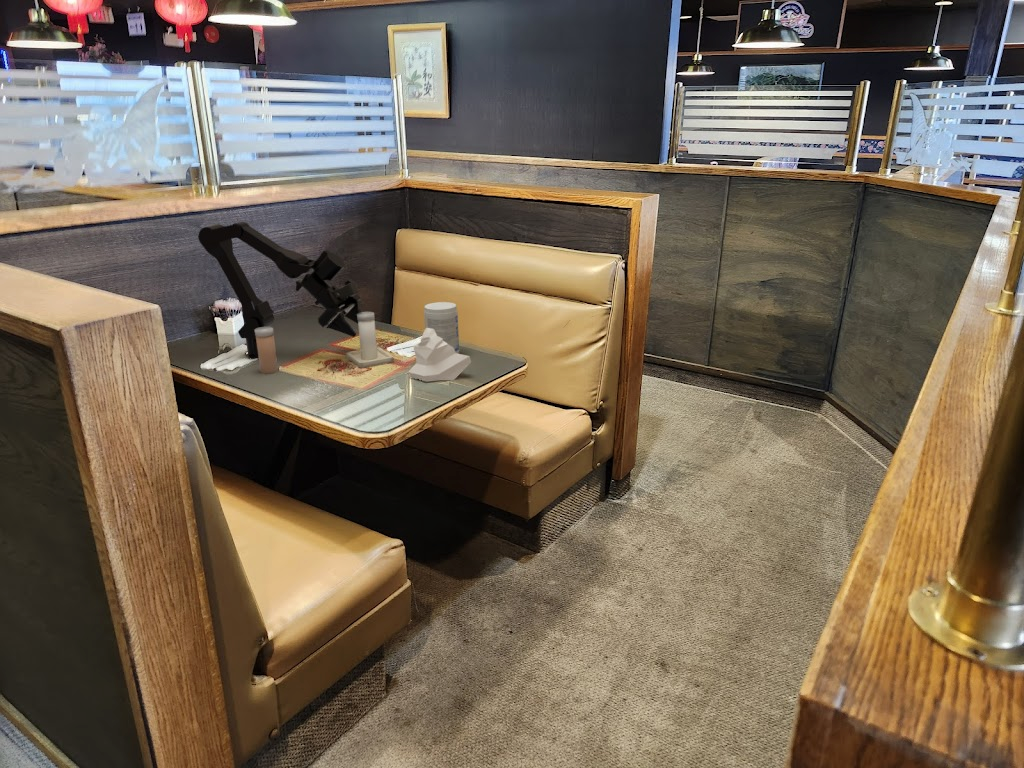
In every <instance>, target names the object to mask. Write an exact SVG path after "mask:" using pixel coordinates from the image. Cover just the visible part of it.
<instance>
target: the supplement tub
mask: <svg viewBox="0 0 1024 768" xmlns="http://www.w3.org/2000/svg"><path fill="white" fill-rule="evenodd" d="M423 307H424V314H423V316H424V327H425V329H426V328H431V329H434V330H435V332H436V335H437V336H439V337H441V338H442V339H443V341H444V342H446V343H447V344H449V345H450V346H452V347H453V348H454V350H455V352H456V353H458V354H460V338H459V337H460V336H459V317H458V308H457V307H458V306H457V304H456V303H454V302H449V301H438V302H431V303H428V304H425V305H424V306H423ZM425 329H424V330H425Z"/></svg>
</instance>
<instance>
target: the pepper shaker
mask: <svg viewBox="0 0 1024 768" xmlns="http://www.w3.org/2000/svg"><path fill="white" fill-rule="evenodd" d="M255 336H256V341H257V349H258V356H259V357H258V362H259V371H260V373H261V374H265V373H269V374H274V373H277V372H279V367H278V366H279V365H278V359H277V351H276V343H275V335H274V327H272V326H271V327H259V328H256V329H255ZM276 371H277V372H276ZM273 372H274V373H273ZM265 375H266V374H265Z"/></svg>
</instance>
